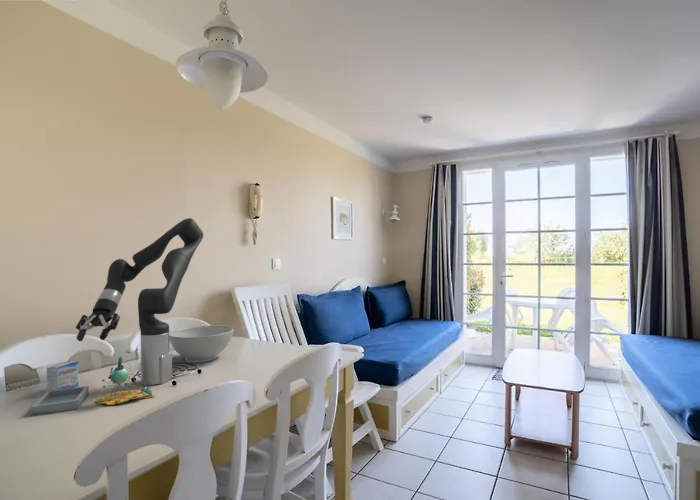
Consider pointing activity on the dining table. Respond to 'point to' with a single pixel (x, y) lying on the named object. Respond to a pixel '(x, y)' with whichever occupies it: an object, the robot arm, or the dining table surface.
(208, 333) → the decorative bowl
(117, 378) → the frog figurine
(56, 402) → the tray
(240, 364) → the dining table surface
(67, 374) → the medicine box
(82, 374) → the dining table surface
